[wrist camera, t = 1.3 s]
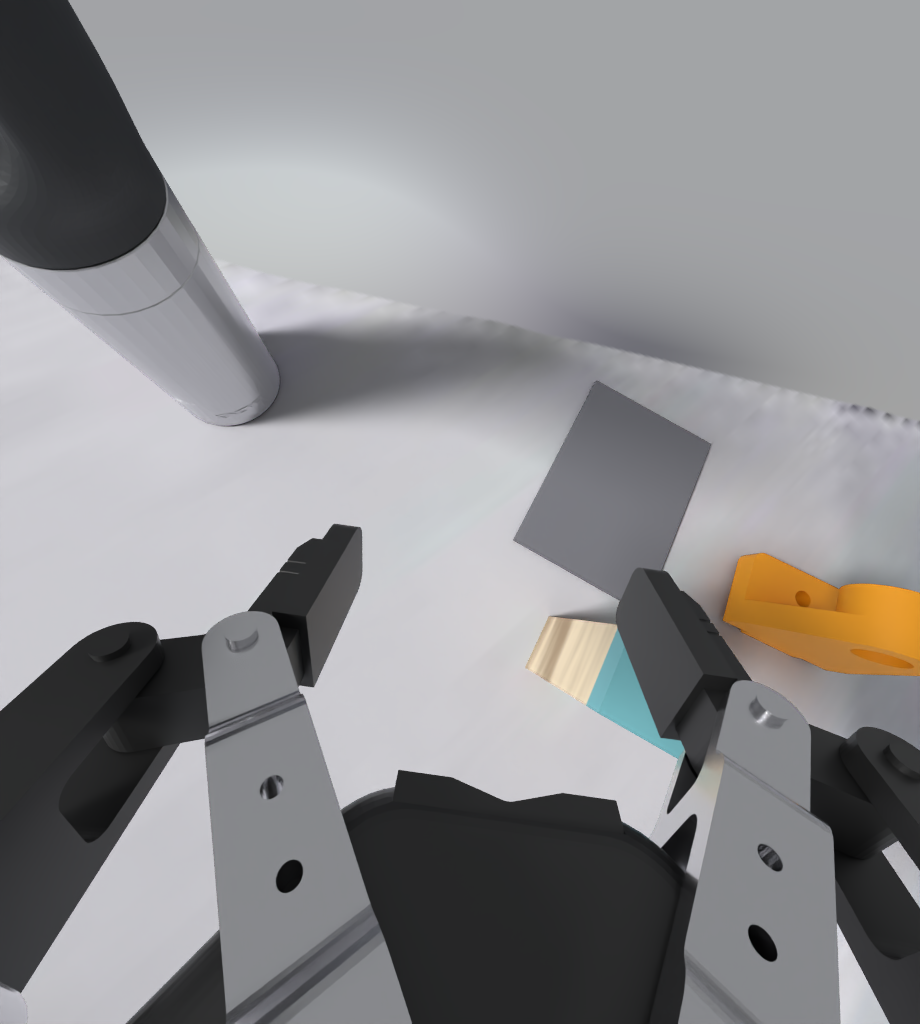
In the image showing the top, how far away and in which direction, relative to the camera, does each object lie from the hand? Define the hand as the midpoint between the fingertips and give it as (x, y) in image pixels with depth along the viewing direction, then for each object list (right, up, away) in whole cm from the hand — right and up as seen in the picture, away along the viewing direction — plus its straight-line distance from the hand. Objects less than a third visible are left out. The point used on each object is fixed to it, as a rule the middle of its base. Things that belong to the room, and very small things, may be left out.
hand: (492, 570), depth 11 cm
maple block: (+8, -11, +23) cm, 27 cm away
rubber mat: (+15, +4, +27) cm, 31 cm away
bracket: (+30, -8, +26) cm, 41 cm away
